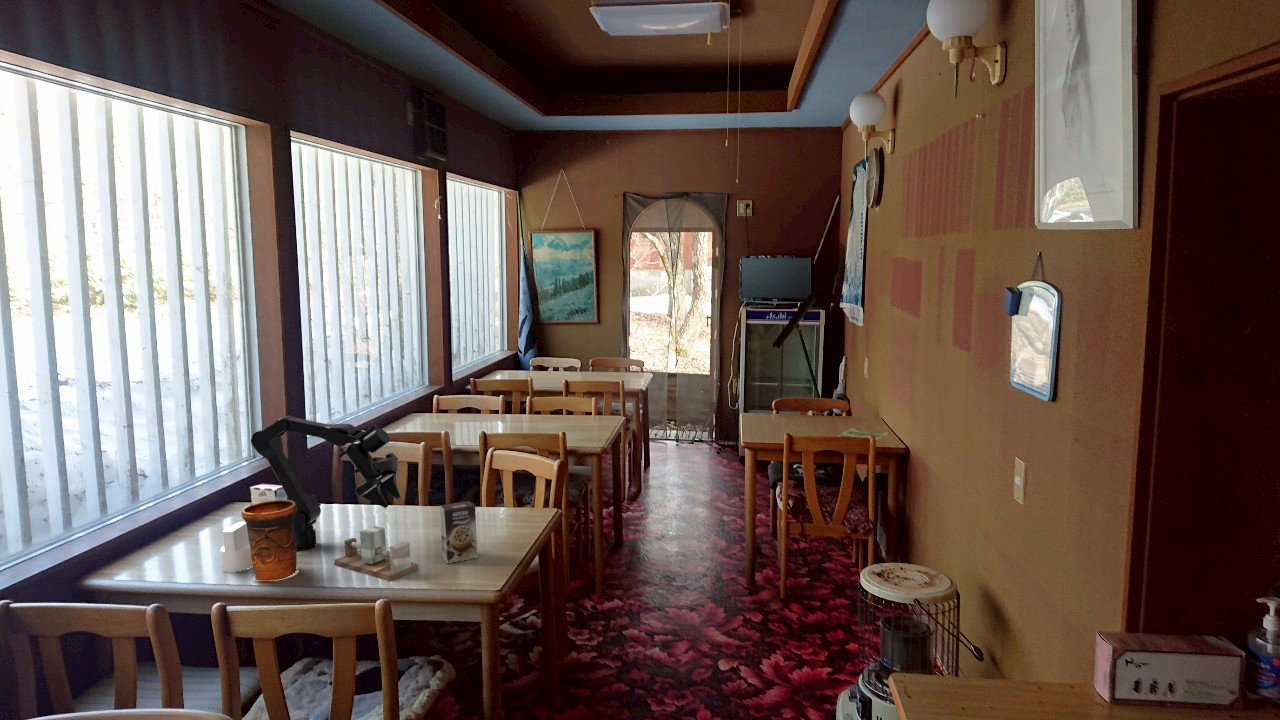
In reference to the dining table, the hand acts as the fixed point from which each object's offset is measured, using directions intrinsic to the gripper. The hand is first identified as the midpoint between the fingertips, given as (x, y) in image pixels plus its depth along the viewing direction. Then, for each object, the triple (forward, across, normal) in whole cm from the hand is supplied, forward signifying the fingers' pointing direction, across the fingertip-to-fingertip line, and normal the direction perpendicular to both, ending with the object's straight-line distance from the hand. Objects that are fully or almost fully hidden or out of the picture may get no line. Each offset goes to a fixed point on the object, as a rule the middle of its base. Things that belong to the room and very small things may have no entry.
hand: (393, 502), depth 246 cm
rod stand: (+12, -16, +8) cm, 21 cm away
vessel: (-3, -22, +30) cm, 37 cm away
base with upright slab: (-10, -16, +42) cm, 46 cm away
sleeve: (+10, -15, +7) cm, 20 cm away
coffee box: (+25, -8, -11) cm, 28 cm away
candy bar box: (-13, +10, +46) cm, 49 cm away
